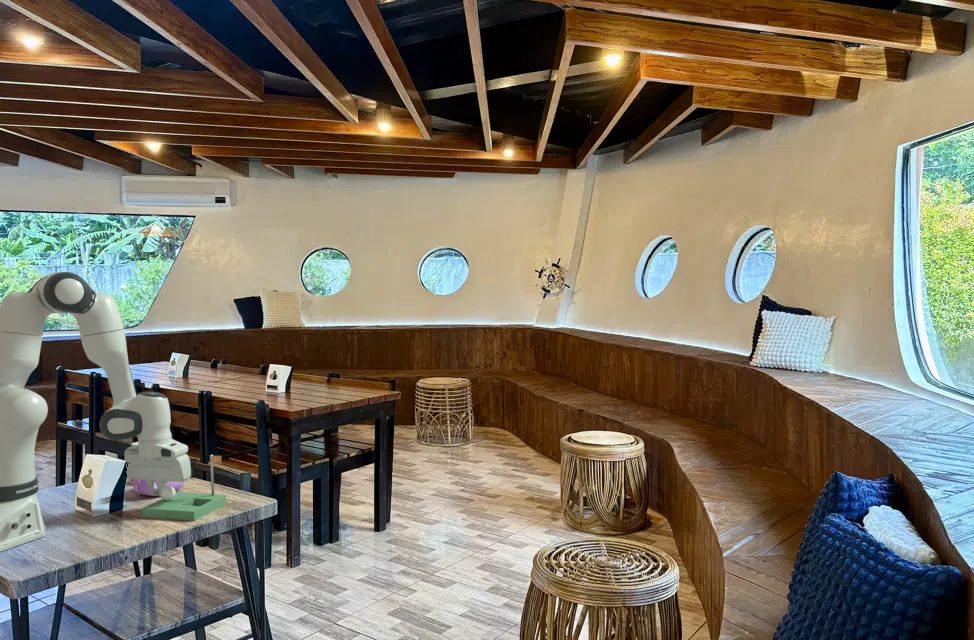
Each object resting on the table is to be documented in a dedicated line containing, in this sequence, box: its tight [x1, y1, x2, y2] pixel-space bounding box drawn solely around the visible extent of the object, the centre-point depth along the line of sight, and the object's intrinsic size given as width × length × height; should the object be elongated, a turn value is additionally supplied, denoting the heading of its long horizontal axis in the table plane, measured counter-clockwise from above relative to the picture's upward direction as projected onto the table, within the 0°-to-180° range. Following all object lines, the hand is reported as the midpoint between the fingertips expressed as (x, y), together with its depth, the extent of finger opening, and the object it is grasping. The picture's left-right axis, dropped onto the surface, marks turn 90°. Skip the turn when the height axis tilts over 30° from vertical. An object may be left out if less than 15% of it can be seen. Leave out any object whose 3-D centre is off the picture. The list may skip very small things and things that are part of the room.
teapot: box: [132, 479, 186, 497], centre depth 228 cm, size 20×13×12 cm, turn 154°
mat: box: [141, 491, 227, 522], centre depth 210 cm, size 15×17×2 cm
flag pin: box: [209, 454, 222, 496], centre depth 214 cm, size 1×4×12 cm, turn 77°
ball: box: [160, 486, 177, 501], centre depth 211 cm, size 4×4×4 cm
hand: (158, 494), depth 212 cm, fingers closed
